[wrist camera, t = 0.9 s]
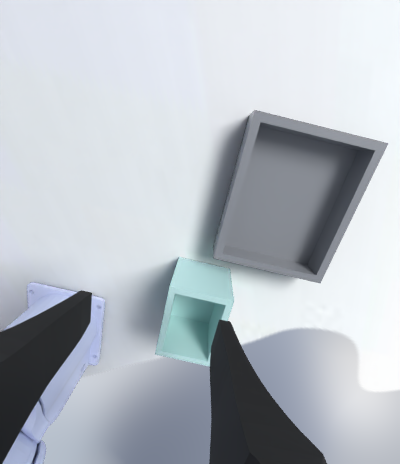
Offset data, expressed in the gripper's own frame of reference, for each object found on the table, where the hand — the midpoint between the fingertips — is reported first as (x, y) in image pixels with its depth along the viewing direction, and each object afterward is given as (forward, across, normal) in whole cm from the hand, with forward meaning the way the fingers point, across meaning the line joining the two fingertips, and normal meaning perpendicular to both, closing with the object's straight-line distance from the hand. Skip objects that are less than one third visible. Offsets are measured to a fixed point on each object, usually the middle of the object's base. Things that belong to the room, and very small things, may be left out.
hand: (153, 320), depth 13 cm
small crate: (+10, -3, +4) cm, 11 cm away
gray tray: (+10, -8, -7) cm, 14 cm away
